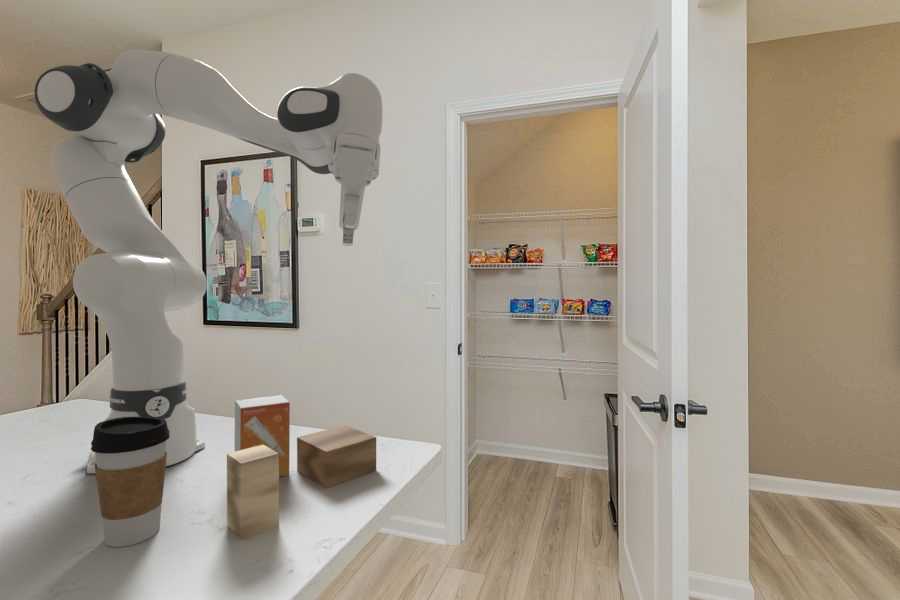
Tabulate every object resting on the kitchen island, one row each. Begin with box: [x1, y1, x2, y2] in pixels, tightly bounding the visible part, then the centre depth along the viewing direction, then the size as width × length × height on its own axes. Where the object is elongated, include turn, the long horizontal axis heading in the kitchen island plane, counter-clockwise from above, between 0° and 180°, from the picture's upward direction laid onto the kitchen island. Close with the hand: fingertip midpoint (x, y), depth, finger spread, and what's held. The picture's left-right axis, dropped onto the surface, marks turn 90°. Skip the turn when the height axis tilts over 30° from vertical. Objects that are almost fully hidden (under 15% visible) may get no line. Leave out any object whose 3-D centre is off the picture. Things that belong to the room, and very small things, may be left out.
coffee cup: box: [90, 417, 170, 548], centre depth 58 cm, size 8×8×15 cm
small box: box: [234, 394, 291, 478], centre depth 77 cm, size 8×6×13 cm
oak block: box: [226, 445, 280, 541], centre depth 61 cm, size 5×5×10 cm
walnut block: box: [296, 424, 377, 489], centre depth 79 cm, size 10×10×6 cm
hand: (348, 236), depth 76 cm, fingers open, 8 cm apart
